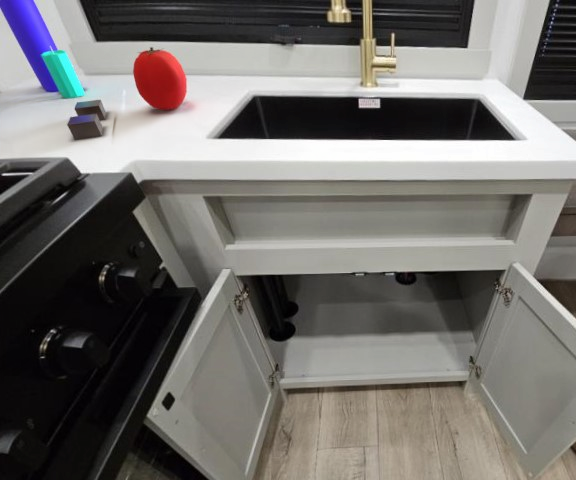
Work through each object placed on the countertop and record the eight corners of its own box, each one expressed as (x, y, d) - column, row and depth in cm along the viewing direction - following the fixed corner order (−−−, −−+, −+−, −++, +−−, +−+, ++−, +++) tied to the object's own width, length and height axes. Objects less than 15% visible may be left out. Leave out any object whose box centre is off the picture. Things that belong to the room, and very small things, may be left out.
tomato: (136, 109, 83) (113, 48, 74) (178, 98, 90) (162, 41, 81) (159, 119, 78) (137, 55, 69) (202, 106, 84) (188, 46, 76)
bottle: (39, 89, 99) (-35, -47, 79) (67, 83, 104) (4, -46, 84) (51, 93, 95) (-23, -48, 75) (80, 87, 100) (17, -47, 80)
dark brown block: (83, 126, 75) (74, 108, 72) (85, 120, 78) (76, 102, 76) (106, 123, 76) (98, 105, 74) (108, 117, 80) (100, 99, 77)
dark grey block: (77, 144, 67) (66, 124, 65) (80, 136, 71) (70, 116, 68) (103, 140, 69) (94, 120, 66) (105, 132, 72) (96, 113, 69)
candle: (72, 91, 97) (49, 43, 89) (89, 92, 96) (68, 44, 88) (56, 97, 93) (31, 47, 84) (74, 98, 92) (50, 48, 83)
